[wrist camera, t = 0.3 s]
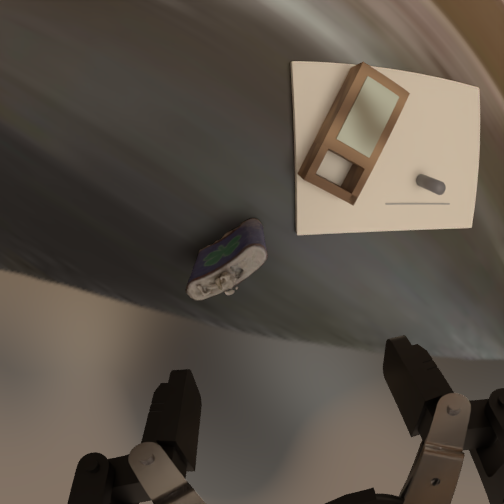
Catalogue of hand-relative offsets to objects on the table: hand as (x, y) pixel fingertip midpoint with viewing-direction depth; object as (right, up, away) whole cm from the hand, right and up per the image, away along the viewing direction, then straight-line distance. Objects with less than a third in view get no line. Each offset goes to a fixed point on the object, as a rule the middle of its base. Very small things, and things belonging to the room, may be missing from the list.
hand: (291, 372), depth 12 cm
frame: (+9, +18, +21) cm, 29 cm away
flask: (-4, +6, +27) cm, 28 cm away
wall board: (+16, +17, +23) cm, 33 cm away
